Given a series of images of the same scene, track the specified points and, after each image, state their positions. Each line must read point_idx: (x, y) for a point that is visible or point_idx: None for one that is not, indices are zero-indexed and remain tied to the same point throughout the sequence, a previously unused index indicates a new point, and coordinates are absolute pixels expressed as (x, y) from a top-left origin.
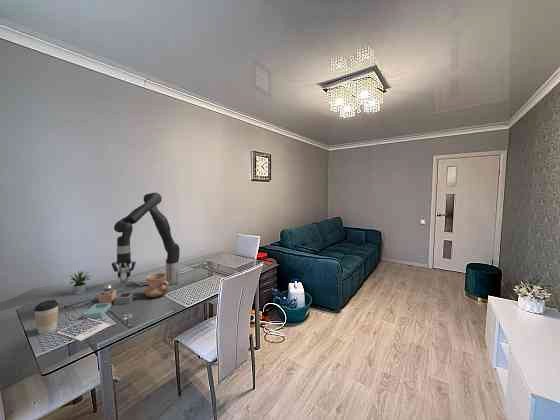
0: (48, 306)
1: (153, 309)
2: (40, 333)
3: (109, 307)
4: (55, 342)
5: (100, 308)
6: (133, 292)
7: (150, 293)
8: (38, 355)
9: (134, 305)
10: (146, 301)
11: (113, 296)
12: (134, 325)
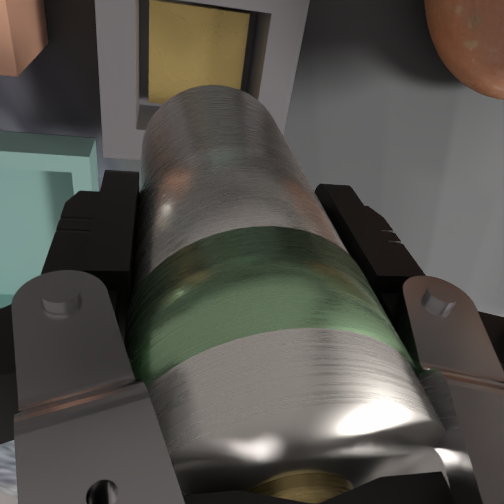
0: None
1: (434, 268)
2: None
3: (96, 184)
4: (13, 453)
5: (11, 179)
6: (301, 6)
7: (487, 88)
8: (16, 496)
9: (306, 171)
10: (406, 114)
11: None
12: None
